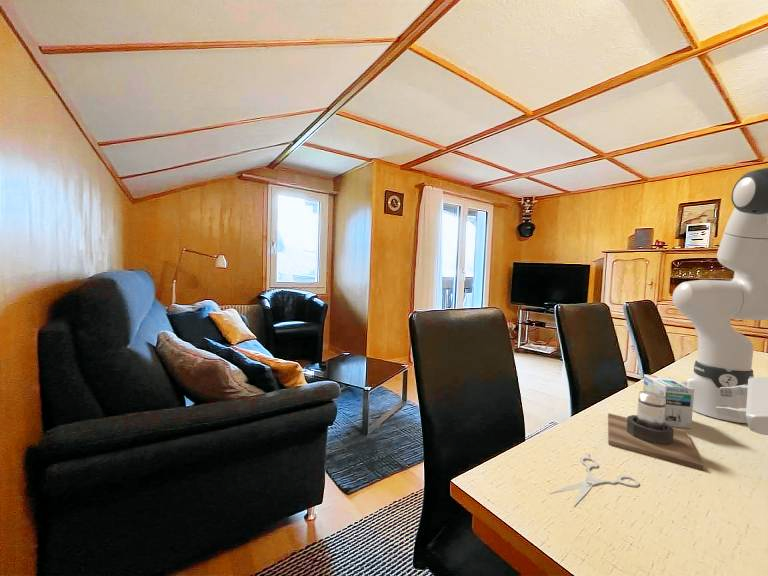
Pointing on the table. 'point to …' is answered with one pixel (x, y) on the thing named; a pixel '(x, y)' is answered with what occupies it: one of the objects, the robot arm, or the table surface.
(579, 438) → the table surface
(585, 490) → the scissors
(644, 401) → the cylinder
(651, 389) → the light bulb box
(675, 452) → the ring collar board
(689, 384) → the robot arm
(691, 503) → the table surface
